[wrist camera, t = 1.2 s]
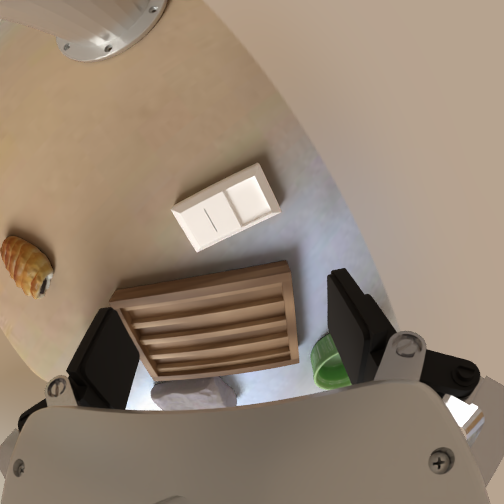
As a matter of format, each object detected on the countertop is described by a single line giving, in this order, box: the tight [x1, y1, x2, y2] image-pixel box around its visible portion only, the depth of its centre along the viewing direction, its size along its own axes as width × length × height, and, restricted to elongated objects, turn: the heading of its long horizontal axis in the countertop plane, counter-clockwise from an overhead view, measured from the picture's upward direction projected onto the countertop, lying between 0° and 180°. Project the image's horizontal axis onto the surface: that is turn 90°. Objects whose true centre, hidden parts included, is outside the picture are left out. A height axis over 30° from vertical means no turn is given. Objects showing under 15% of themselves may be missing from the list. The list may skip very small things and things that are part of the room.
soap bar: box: [171, 163, 282, 252], centre depth 25 cm, size 5×9×3 cm, turn 115°
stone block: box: [151, 376, 237, 411], centre depth 37 cm, size 12×5×10 cm
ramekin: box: [311, 334, 352, 390], centre depth 34 cm, size 9×9×4 cm
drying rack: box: [109, 260, 299, 381], centre depth 31 cm, size 14×20×2 cm
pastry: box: [0, 236, 53, 299], centre depth 25 cm, size 9×7×4 cm
